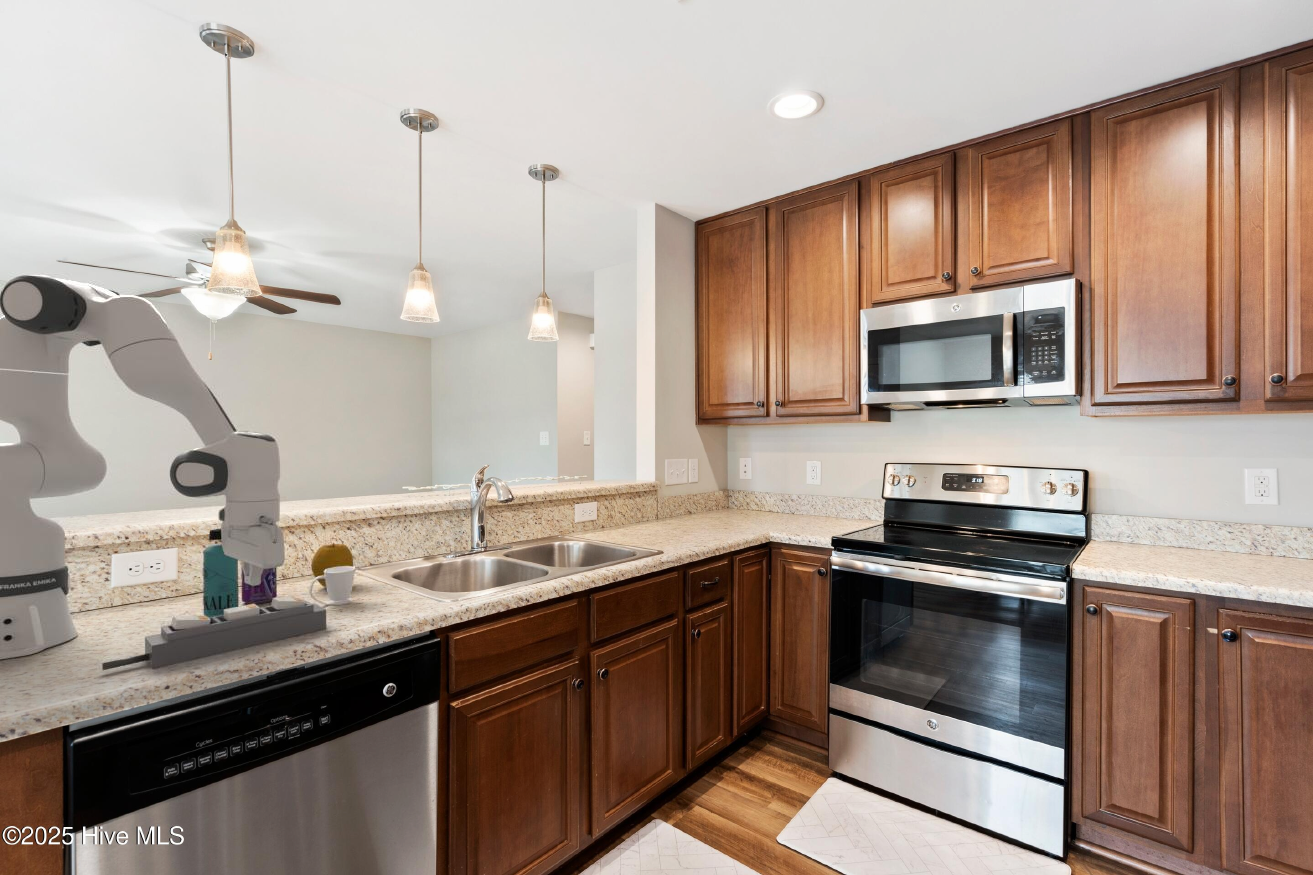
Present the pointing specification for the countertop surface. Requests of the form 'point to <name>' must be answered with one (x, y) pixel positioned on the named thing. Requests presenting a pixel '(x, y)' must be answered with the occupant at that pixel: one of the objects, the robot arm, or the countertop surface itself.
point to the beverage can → (260, 587)
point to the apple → (330, 559)
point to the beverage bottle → (219, 578)
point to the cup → (337, 584)
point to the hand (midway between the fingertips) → (252, 584)
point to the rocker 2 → (241, 612)
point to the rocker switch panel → (226, 635)
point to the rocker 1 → (189, 621)
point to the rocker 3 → (287, 603)
